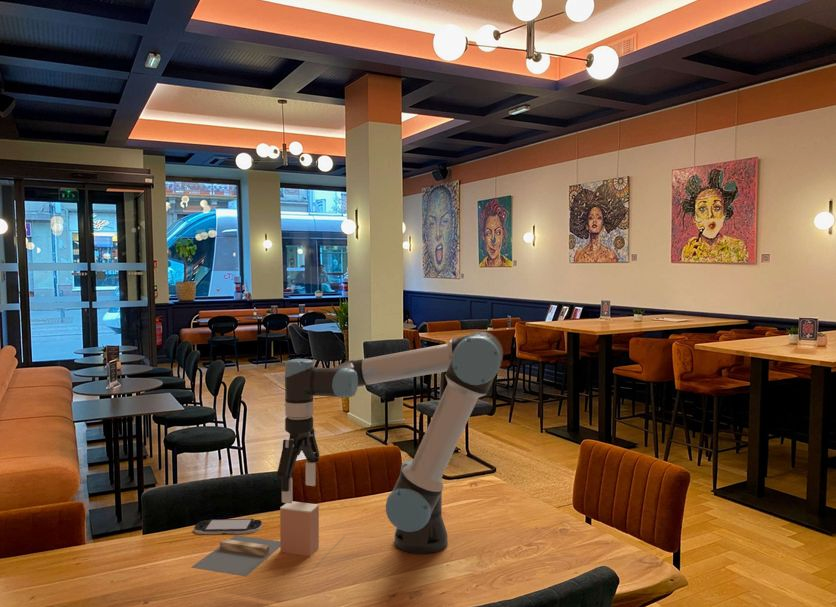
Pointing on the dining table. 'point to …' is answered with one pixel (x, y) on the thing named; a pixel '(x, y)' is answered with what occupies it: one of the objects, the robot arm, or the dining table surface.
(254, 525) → the gaming console
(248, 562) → the mat
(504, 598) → the dining table surface
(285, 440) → the robot arm
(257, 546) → the bar
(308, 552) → the block
